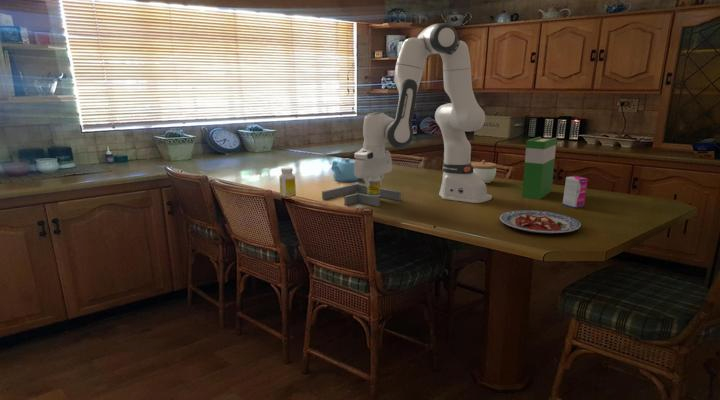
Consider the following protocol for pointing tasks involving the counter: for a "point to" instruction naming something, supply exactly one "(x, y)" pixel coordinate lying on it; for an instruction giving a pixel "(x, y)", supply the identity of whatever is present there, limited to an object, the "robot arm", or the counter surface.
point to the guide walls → (360, 195)
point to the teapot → (344, 170)
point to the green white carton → (539, 167)
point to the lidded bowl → (485, 170)
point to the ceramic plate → (540, 221)
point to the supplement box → (575, 191)
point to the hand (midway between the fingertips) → (373, 185)
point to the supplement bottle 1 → (287, 182)
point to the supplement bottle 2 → (374, 186)
